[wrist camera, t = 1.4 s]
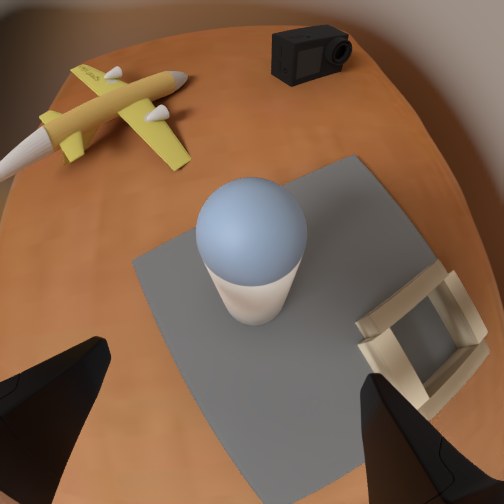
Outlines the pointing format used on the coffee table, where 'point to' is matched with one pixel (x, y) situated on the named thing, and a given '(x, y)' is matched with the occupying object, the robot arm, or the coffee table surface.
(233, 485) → the coffee table surface
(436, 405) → the cradle
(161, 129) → the toy airplane
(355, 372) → the jig board
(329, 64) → the digital camera
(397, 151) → the coffee table surface
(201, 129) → the coffee table surface
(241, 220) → the blue-domed white cylinder
